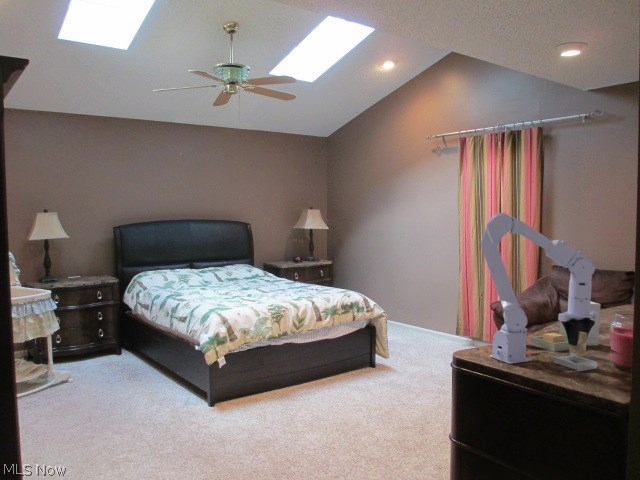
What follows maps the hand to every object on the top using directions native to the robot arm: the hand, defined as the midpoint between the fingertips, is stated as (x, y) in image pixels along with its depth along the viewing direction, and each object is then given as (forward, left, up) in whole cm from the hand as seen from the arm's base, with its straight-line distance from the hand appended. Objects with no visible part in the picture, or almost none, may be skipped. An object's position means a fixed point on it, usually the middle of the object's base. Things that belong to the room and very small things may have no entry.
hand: (576, 344), depth 143 cm
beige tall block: (0, 0, -2) cm, 2 cm away
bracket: (0, 0, -6) cm, 6 cm away
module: (+12, +17, -6) cm, 22 cm away
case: (+14, +17, -6) cm, 23 cm away
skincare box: (+27, +17, -7) cm, 33 cm away
